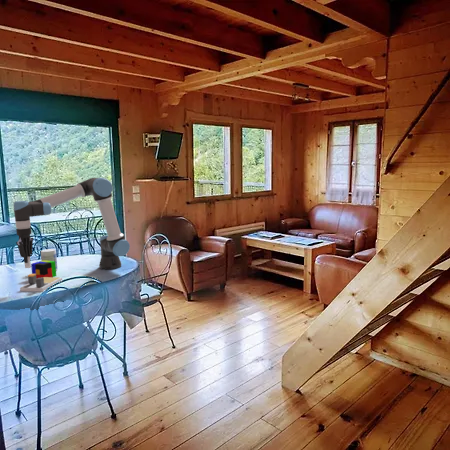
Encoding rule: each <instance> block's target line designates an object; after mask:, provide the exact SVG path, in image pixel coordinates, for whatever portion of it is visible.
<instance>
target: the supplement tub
mask: <svg viewBox="0 0 450 450" xmlns="http://www.w3.org/2000/svg"><path fill="white" fill-rule="evenodd" d="M40 259H41V260H40V261H43V260H46V261H55V265H56V272H57V271H58V259H57V251H56V249H55V248H49V249H48V248H47V249H46V248H45V249H43V250H40Z"/></svg>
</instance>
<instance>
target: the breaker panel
mask: <svg viewBox="0 0 450 450" xmlns="http://www.w3.org/2000/svg"><path fill="white" fill-rule="evenodd" d="M41 278H42V277H41ZM43 278H44V286H42V287H36V283H34V284H29V283H27V284H25V285H23V286H21V287H19V291H20V292H45V291H47V290H48V289H47V288H48V287H50V286H52V285H53V284H55V283H57V282H59V281H61V280H62V281H63V277H57V276H55V277H43ZM62 281H61V282H62ZM59 283H60V282H59ZM52 287H53V286H52ZM50 288H51V287H50ZM46 289H47V290H46ZM44 290H45V291H44Z"/></svg>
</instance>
